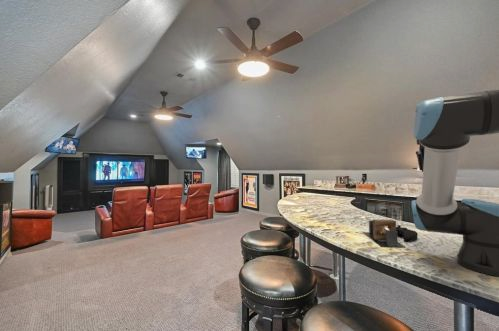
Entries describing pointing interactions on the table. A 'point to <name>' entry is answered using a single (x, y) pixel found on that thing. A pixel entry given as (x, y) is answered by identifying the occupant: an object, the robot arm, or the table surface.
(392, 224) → the collar
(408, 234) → the gaming controller
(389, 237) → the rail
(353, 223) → the table surface
